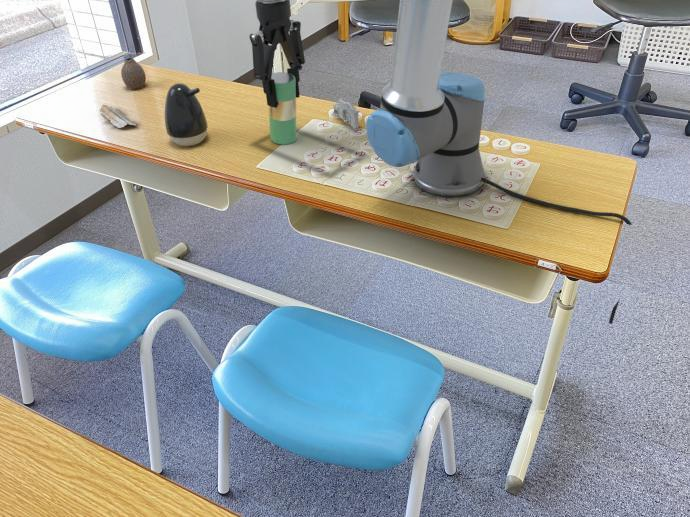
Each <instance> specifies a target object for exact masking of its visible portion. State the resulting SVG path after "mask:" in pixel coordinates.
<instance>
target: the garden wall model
mask: <svg viewBox="0 0 690 517" xmlns="http://www.w3.org/2000/svg"><path fill="white" fill-rule="evenodd" d="M332 106H333V114H334V115H336V116H337V117H338V118H340V119H341V120H343V122H344V123H346V122H348V123H347V125H349V126H351V127H352V128H353V129H359V114H360V112H361V111H360V110H359V109H357V108H356V107H355V105H354V104H353V103H352V102H349V101H346V100H344V99H342V98H339V99H338V100H337V103H336V102H335V103H334V104H333V105H332Z"/></svg>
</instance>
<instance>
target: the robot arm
mask: <svg viewBox="0 0 690 517" xmlns="http://www.w3.org/2000/svg"><path fill="white" fill-rule="evenodd" d="M453 1H454V0H399V7H398V16H397V23H396V24H397V25H396V35H395V43H394V53H393V63H392V71H391V80H390V82H388V83H387V84H386V85H385V86H384V87H383V88H382V90H381V98H380V107H379V108H378V109H375V110H374V111H373V112H371V114H370V115H368V117H367V119H366V124H365V131H366V137H367V140H368V143H369V145H370V147H371V148H372V149H373V152H374V153H375V155H376V156H377V157H378V158H379V159H380V160H381V161H382V162H384V163H385V164H387V165H389V166H391V167H394V168H403V167H406V166H409V165H411V164H415V165H414V169H413V181H414V183H415V185H417V187H418V188H419V189H421V190H422V191H424V192H427V193H429V194H432V195H435V196H441V197H461V196H467V195H469V194H472V193H475V192H477V191H479V189H481V188H482V186H483V184H484V183H486V184H487V185H489V186H492V187H494V188H496V189H497V190H499V191H501V192H504V193H507V194H508V195H511V196H513V197H517V198H519V199H522V200H525V201H528V202H531V203H535V204H539V205H541V206H546V207H549V208H554V209H558V210H562V211H569V212H574V213H579V214H583V215H590V216H595V217H613V218H618V219H620V220H622V221H623V222H624V223H625V224H627V225H628V226H633V224H632V222H631V221H630V220H629V219H628V218H627V217H626V216H624V215H623V214H620V213H616V212H608V211H607V212H606V211H603V212H602V211H592V210H587V209H583V208H581V209H580V208H576V207H572V206H566V205H561V204H557V203H552V202H547V201H544V200H540V199H537V198H533V197H529V196H527V195H524V194H521V193H518V192H515V191H513V190H510V189H508V188H505V187H503V186H501V185H499V184H497V183H496V182H494V181H492V180H489V179H487V178H485V169H484V166H483V161H482V156H481V152H480V140H481V132H482V122H483V114H484V106H485V102H486V98H485V97H486V96H485V93H486V87H485V86H486V85H485V84H484V82H483V81H482V80H481V79H480V78H478V77H476V76H474V75H470V74H466V73H461V72H454V71H442V66H443V61H444V55H445V48H446V44H447V38H448V31H449V26H450V18H451V13H452V7H453V3H454V2H453ZM254 6H255V14H256V18H257V21H258V22H259V27H258V31H257V32H255V33H250V34H249V35H248V36H249V40H250V43H251V49H252V65H253V66H252V67H253V78H254V79H256V80H259V81H261V83H262V89H263V93H264V94H265V97H266V98H265V99H266V105H267V106H268V107H269V106H271V107H274V108H276V107H277V98H276V90H275V82H274V80H273V79H271V77H272V74H273V68H274V60H275V54H276V50H278V45H279V44H280V46H281V49H282V52H283V54H284V56H285V59H286V62H287V64H288V66H289V67H288V68H287V69H286V73H290V74H292V75H294V76H295V78H296V99H297V98H300V97H301V96H300V95H301V94H300V86H299V85H300V84H299V82H300V79H301V78H300V71H301V70H302V69H303V65H305V63H306V59H305V54H304V52H305V51H304V46H303V41H302V40H303V39H302V35H301V27H302V26H301V25H302V23H301V21H298V20H294V19H290V18H291V16H292V10H291V0H256V1H255V3H254ZM620 299H621V298H619V299H618V300H617V302H616V303H615V305H614V306H612V309H611V313H610V317H609V320H608V324H610V325H613V322H614V319H615V316H616V312H617V309H618V306H619V304H620Z"/></svg>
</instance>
